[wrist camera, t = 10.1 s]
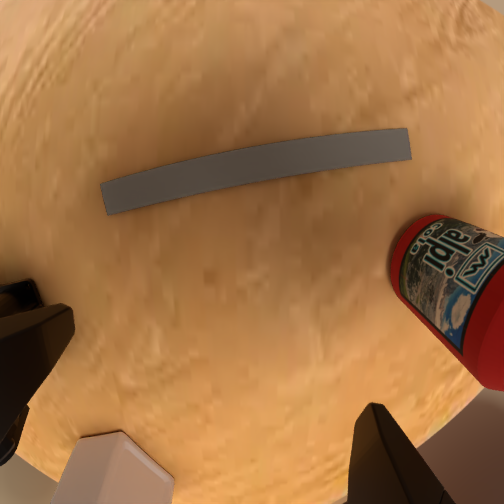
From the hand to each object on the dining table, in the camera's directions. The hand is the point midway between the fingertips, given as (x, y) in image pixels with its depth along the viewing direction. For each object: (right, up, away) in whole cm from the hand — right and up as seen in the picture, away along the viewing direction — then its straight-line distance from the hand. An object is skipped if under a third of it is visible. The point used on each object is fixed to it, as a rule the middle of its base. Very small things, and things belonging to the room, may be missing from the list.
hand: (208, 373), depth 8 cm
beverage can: (+13, +3, +12) cm, 18 cm away
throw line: (+2, +8, +9) cm, 13 cm away
